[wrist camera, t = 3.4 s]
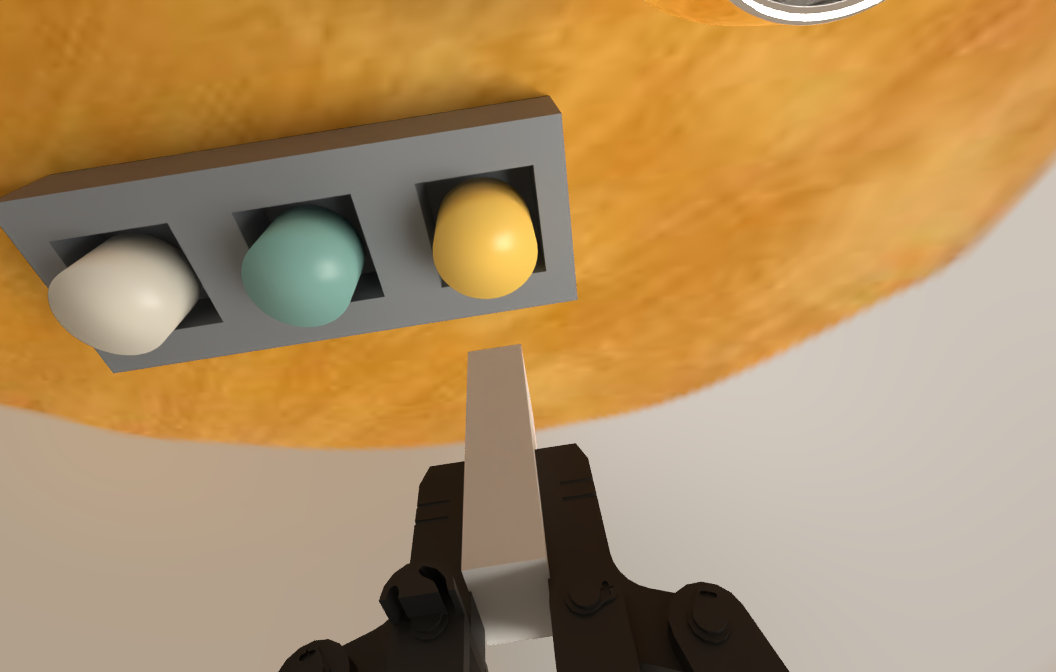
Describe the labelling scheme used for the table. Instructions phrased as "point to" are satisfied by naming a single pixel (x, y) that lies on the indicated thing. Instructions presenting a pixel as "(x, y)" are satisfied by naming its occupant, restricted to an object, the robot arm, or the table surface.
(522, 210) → the button amber
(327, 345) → the table surface
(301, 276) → the button teal
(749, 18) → the beer glass
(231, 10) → the table surface
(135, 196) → the console
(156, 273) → the button ivory
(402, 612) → the robot arm
